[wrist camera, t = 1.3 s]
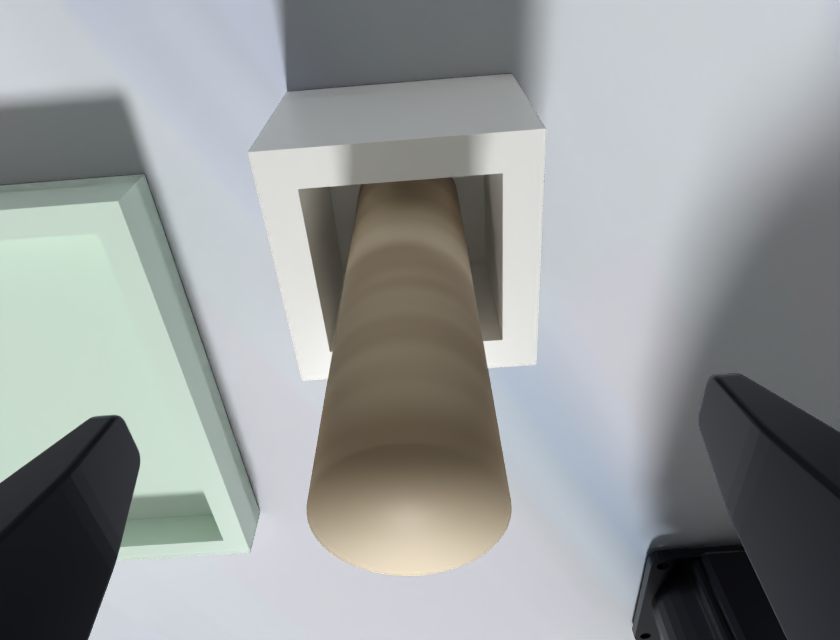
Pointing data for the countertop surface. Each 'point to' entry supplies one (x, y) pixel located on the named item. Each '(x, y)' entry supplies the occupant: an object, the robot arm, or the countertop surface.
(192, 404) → the tray
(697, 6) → the countertop surface
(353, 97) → the white square tube
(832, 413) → the countertop surface
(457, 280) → the dowel
